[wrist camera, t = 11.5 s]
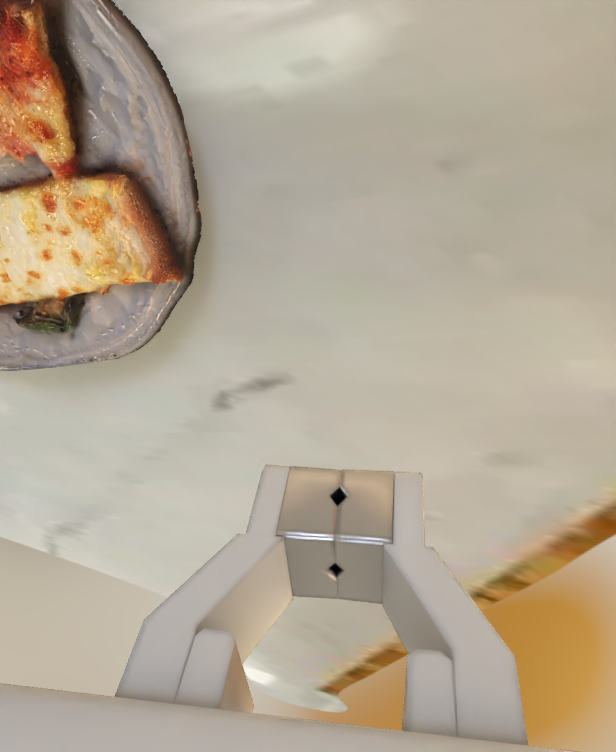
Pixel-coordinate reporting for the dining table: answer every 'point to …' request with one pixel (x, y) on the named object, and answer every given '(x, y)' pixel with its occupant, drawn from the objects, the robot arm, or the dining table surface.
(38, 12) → the food plate
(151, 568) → the dining table surface
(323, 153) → the dining table surface
